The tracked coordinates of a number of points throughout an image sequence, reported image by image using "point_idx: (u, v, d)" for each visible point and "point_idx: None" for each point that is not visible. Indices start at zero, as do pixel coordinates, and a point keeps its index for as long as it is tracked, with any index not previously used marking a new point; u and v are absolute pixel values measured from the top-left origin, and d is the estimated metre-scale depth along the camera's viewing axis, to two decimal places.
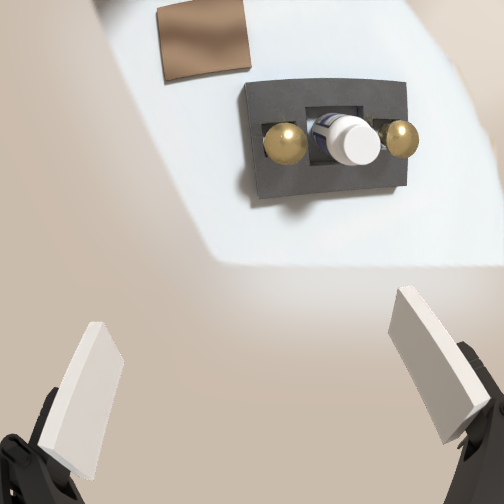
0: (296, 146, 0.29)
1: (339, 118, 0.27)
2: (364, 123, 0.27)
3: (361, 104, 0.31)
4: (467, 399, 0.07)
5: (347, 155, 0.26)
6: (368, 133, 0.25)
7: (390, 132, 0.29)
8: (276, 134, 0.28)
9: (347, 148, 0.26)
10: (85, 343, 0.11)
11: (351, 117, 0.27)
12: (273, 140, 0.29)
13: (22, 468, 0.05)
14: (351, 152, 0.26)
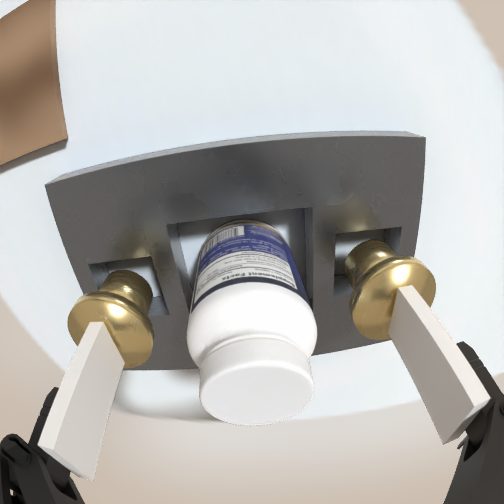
0: (128, 342, 0.13)
1: (213, 295, 0.11)
2: (283, 312, 0.10)
3: (308, 204, 0.14)
4: (467, 399, 0.07)
5: (215, 416, 0.10)
6: (275, 378, 0.09)
7: (366, 297, 0.12)
8: (83, 321, 0.12)
9: (213, 407, 0.09)
10: (85, 343, 0.11)
11: (243, 297, 0.10)
12: (82, 330, 0.12)
13: (22, 468, 0.05)
14: (224, 412, 0.10)
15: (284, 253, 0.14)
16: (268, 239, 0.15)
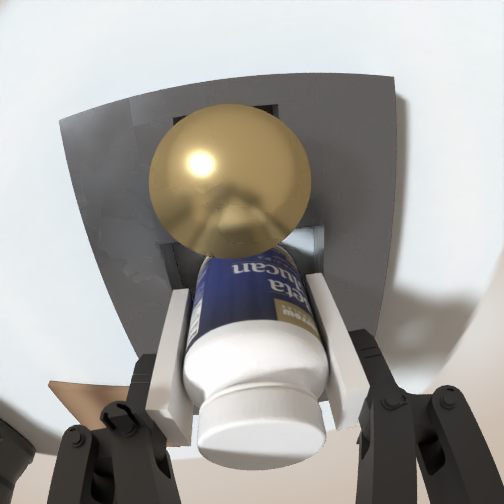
0: None
1: None
2: (195, 377, 0.09)
3: (156, 249, 0.13)
4: (342, 383, 0.08)
5: (292, 463, 0.08)
6: (220, 445, 0.07)
7: (209, 247, 0.09)
8: None
9: (272, 466, 0.08)
10: (175, 307, 0.12)
11: (187, 394, 0.10)
12: None
13: (121, 438, 0.07)
14: (284, 461, 0.08)
15: (203, 286, 0.13)
16: (196, 291, 0.13)
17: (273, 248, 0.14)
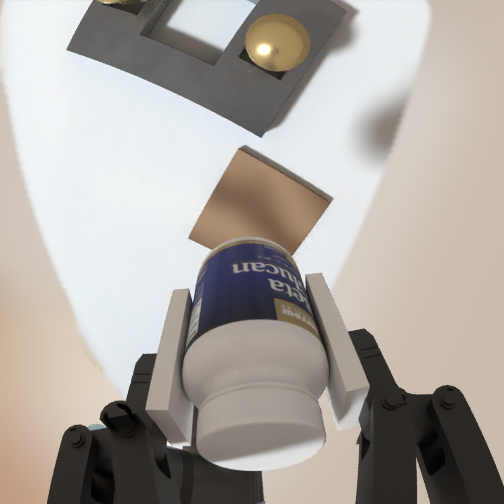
0: (267, 31, 0.16)
1: None
2: (194, 377, 0.09)
3: (140, 37, 0.18)
4: (342, 383, 0.08)
5: (292, 464, 0.08)
6: (220, 446, 0.07)
7: None
8: (281, 60, 0.17)
9: (272, 466, 0.08)
10: (175, 307, 0.12)
11: None
12: (290, 56, 0.17)
13: (121, 438, 0.07)
14: (284, 462, 0.08)
15: (202, 285, 0.13)
16: (195, 290, 0.13)
17: (273, 247, 0.14)
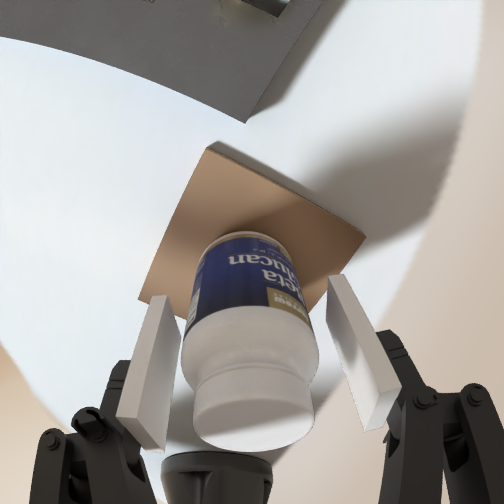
0: None
1: None
2: (192, 360, 0.10)
3: None
4: (375, 385, 0.08)
5: (284, 445, 0.09)
6: (214, 424, 0.08)
7: None
8: None
9: (265, 447, 0.09)
10: (152, 314, 0.12)
11: (185, 378, 0.11)
12: None
13: (93, 443, 0.07)
14: (276, 443, 0.09)
15: (201, 276, 0.13)
16: (195, 281, 0.14)
17: (268, 241, 0.15)
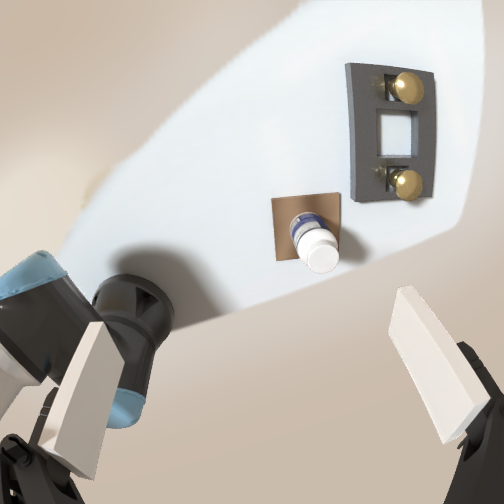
0: (412, 178, 0.36)
1: (299, 241, 0.38)
2: (318, 234, 0.37)
3: (375, 109, 0.35)
4: (467, 399, 0.07)
5: (317, 272, 0.37)
6: (322, 250, 0.35)
7: (406, 100, 0.31)
8: (403, 192, 0.37)
9: (314, 268, 0.37)
10: (85, 343, 0.11)
11: (306, 237, 0.37)
12: (406, 195, 0.37)
13: (22, 468, 0.05)
14: (318, 269, 0.37)
15: (314, 219, 0.41)
16: (308, 217, 0.41)
17: None
